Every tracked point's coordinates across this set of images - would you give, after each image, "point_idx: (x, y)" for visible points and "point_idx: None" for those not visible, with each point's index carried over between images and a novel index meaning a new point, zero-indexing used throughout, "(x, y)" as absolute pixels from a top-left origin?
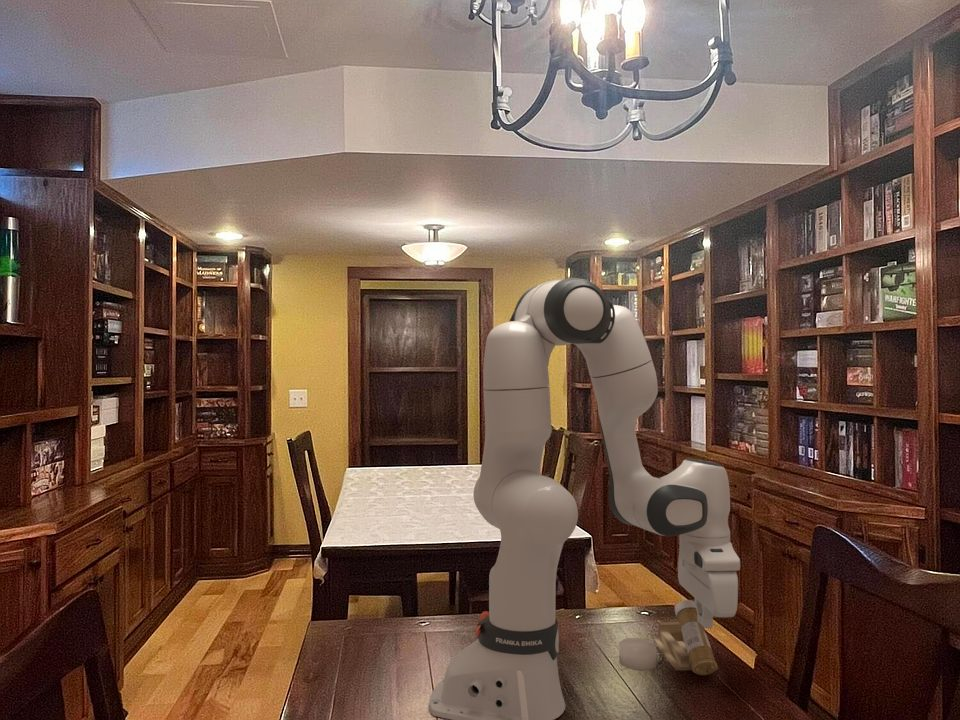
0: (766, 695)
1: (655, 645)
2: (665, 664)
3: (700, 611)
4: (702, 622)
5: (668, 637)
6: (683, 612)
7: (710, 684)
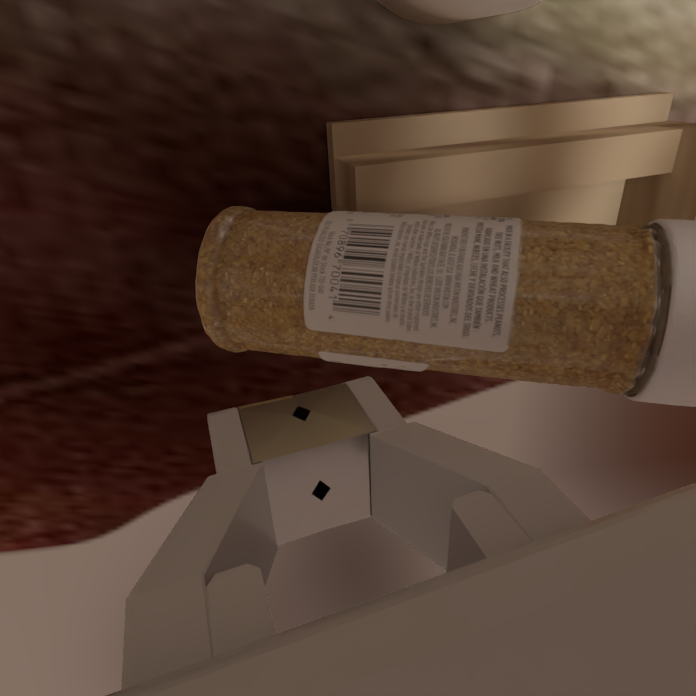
0: (84, 489)
1: (483, 3)
2: (406, 79)
3: (391, 466)
4: (229, 431)
5: (608, 155)
6: (634, 280)
7: (162, 275)
